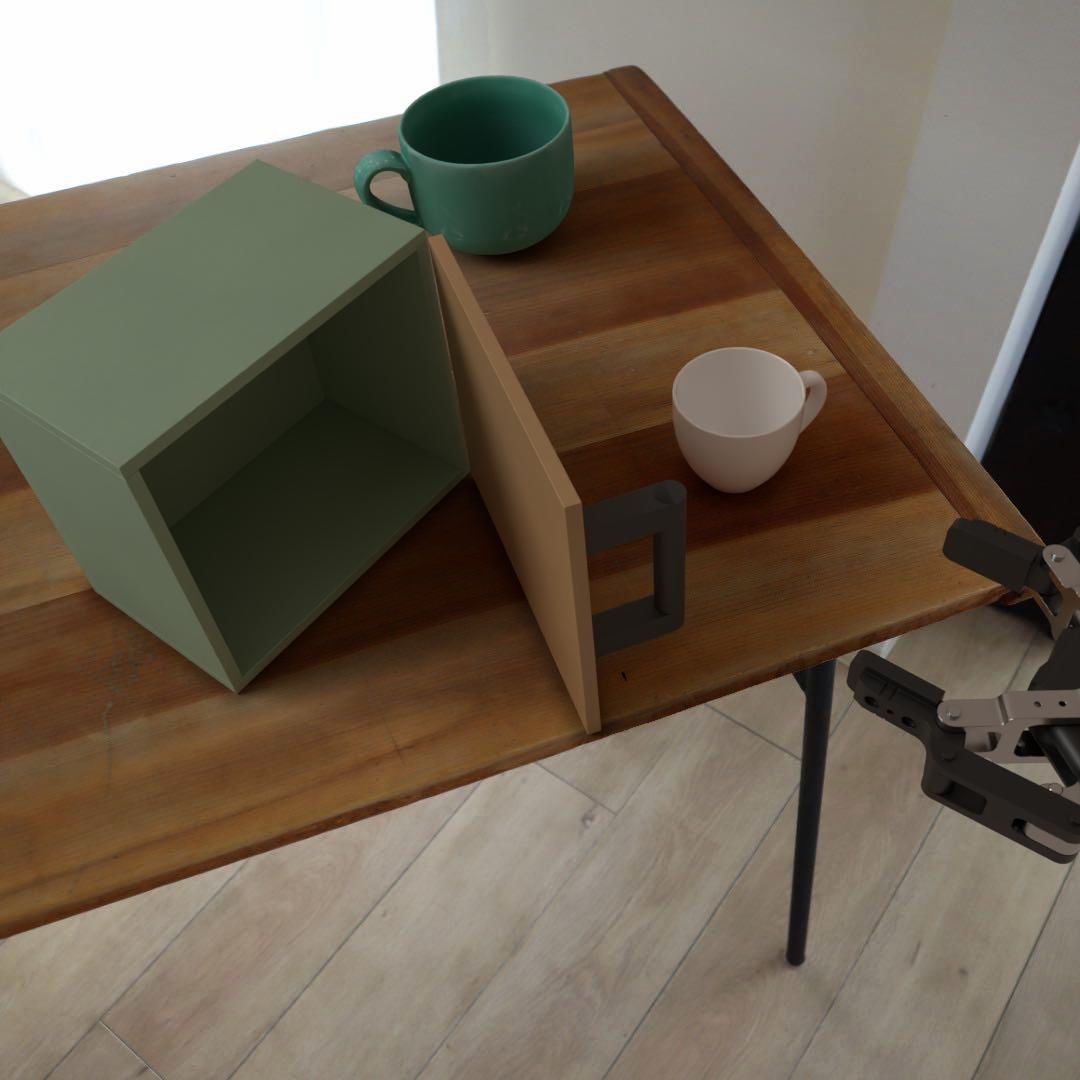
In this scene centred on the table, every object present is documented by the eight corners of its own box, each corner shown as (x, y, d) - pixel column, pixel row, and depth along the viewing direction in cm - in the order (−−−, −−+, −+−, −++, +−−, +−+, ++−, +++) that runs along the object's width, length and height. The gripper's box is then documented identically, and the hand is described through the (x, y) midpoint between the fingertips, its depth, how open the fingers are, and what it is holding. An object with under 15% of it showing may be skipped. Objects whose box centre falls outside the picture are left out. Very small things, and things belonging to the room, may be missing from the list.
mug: (556, 168, 97) (547, 59, 90) (597, 256, 89) (590, 144, 82) (359, 210, 96) (334, 103, 89) (383, 304, 88) (357, 194, 81)
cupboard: (471, 471, 76) (425, 228, 62) (237, 694, 66) (119, 468, 52) (328, 396, 82) (257, 158, 68) (94, 591, 72) (-47, 362, 58)
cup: (650, 451, 76) (649, 372, 71) (785, 399, 78) (794, 319, 73) (709, 532, 71) (712, 454, 66) (852, 475, 73) (866, 395, 68)
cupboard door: (568, 445, 76) (546, 203, 63) (701, 694, 64) (710, 460, 50) (472, 475, 75) (427, 237, 61) (587, 735, 63) (564, 508, 49)
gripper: (1204, 998, 42) (807, 761, 50) (1329, 720, 49) (962, 548, 56) (1288, 914, 37) (825, 661, 44) (1416, 612, 43) (995, 436, 50)
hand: (902, 598), depth 50 cm, fingers open, 8 cm apart
